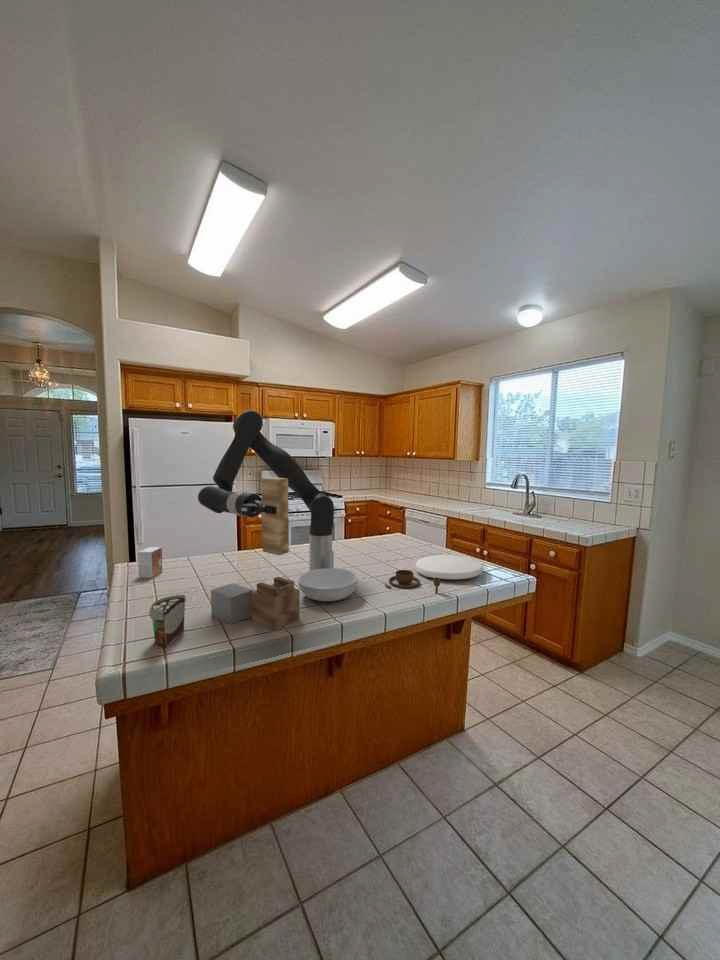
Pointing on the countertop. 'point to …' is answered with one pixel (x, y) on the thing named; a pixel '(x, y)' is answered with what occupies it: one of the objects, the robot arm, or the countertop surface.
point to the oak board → (275, 516)
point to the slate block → (231, 603)
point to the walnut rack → (275, 603)
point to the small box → (150, 562)
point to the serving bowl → (327, 584)
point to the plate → (449, 567)
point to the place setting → (408, 580)
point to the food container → (168, 619)
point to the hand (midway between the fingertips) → (281, 509)
